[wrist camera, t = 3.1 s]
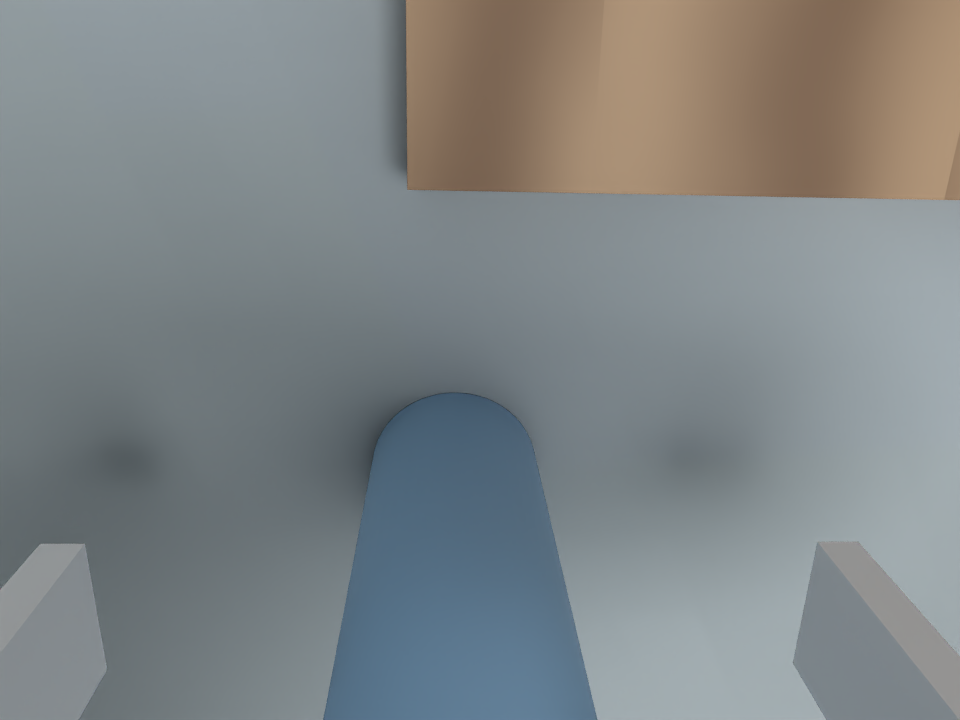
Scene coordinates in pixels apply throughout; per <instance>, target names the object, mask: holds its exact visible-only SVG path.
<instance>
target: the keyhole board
mask: <svg viewBox="0 0 960 720" xmlns="http://www.w3.org/2000/svg"><path fill="white" fill-rule="evenodd" d="M406 70H407V190H448V191H502V192H555V193H608V194H662V195H715V196H768V197H822V198H875V199H928V200H960V0H406Z"/></svg>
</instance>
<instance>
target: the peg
mask: <svg viewBox="0 0 960 720" xmlns="http://www.w3.org/2000/svg"><path fill="white" fill-rule="evenodd" d="M323 720H597V716H596V712H595V708H594V704H593V699H592V695H591V691H590V687H589V682H588V678H587V674H586V670H585V666H584V661H583V657H582V653H581V649H580V644H579V640H578V636H577V632H576V627H575V623H574V619H573V615H572V610H571V606H570V602H569V598H568V593H567V589H566V585H565V581H564V577H563V572H562V568H561V564H560V560H559V555H558V551H557V547H556V543H555V538H554V534H553V530H552V526H551V521H550V517H549V513H548V509H547V504H546V500H545V496H544V492H543V487H542V483H541V479H540V475H539V471H538V466H537V462H536V458H535V454H534V449H533V446H532V443H531V440H530V438H529V436H528V434H527V432H526V430H525V429H524V427H523V426H522V424H521V423H520V422H519V421H518V420H517V419H516V417H515V416H514V415H512V414H511V413H510V412H509V411H508V410H506V409H505V408H503V407H502V406H500V405H499V404H497V403H495V402H493V401H491V400H489V399H486V398H483V397H480V396H477V395H471V394H466V393H444V394H438V395H433V396H430V397H426V398H423V399H421V400H419V401H416V402H414V403H412V404H411V405H409V406H407V407H406V408H404V409H403V410H402V411H400V412H399V413H398V414H397V415H395V416H394V418H393V419H392V420H391V421H390V422H389V423H388V424H387V426H386V427H385V428H384V430H383V431H382V433H381V435H380V437H379V439H378V441H377V444H376V447H375V451H374V456H373V461H372V466H371V472H370V477H369V482H368V487H367V493H366V498H365V503H364V508H363V514H362V519H361V524H360V529H359V535H358V540H357V545H356V551H355V556H354V561H353V566H352V572H351V577H350V582H349V587H348V593H347V598H346V603H345V608H344V614H343V619H342V624H341V630H340V635H339V640H338V645H337V651H336V656H335V661H334V666H333V672H332V677H331V682H330V687H329V693H328V698H327V703H326V709H325V714H324V719H323Z"/></svg>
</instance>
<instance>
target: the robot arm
mask: <svg viewBox="0 0 960 720" xmlns="http://www.w3.org/2000/svg"><path fill="white" fill-rule="evenodd" d="M793 664H794V666H795V667H796V669H797V671H798V672H799V674H800V676H801V678H802V679H803V681H804V683H805V684H806V686H807V688H808V689H809V691H810V693H811V694H812V696H813V698H814V700H815V701H816V703H817V705H818V706H819V708H820V710H821V711H822V713H823V715H824V716H825V718H826V720H960V656H959V655H958V654H957V653H956V652H955V651H954V649H953V648H952V647H951V646H950V645H949V644H948V643H947V642H946V640H945V639H944V638H943V637H942V636H941V635H940V634H939V633H938V631H937V630H936V629H935V628H934V627H933V626H932V625H931V623H930V622H929V621H928V620H927V619H926V618H925V617H924V616H923V614H922V613H921V612H920V611H919V610H918V609H917V608H916V607H915V605H914V604H913V603H912V602H911V601H910V600H909V599H908V597H907V596H906V595H905V594H904V593H903V592H902V591H901V590H900V588H899V587H898V586H897V585H896V584H895V583H894V582H893V581H892V579H891V578H890V577H889V576H888V575H887V574H886V573H885V572H884V570H883V569H882V568H881V567H880V566H879V565H878V564H877V562H876V561H875V560H874V559H873V558H872V557H871V556H870V555H869V553H868V552H867V551H866V550H865V549H864V548H863V547H862V546H861V544H860V543H859V542H817V546H816V551H815V556H814V561H813V566H812V571H811V576H810V581H809V586H808V591H807V595H806V600H805V605H804V610H803V615H802V620H801V625H800V630H799V635H798V640H797V645H796V650H795V655H794V659H793ZM106 671H107V665H106V659H105V654H104V648H103V642H102V637H101V631H100V625H99V620H98V614H97V609H96V603H95V597H94V592H93V586H92V580H91V575H90V569H89V563H88V558H87V552H86V546H85V544H40V545H39V546H38V547H37V548H36V549H35V550H34V552H33V553H32V554H31V555H30V556H29V557H28V558H27V560H26V561H25V562H24V563H23V564H22V565H21V566H20V568H19V569H18V570H17V571H16V572H15V573H14V575H13V576H12V577H11V578H10V579H9V580H8V581H7V583H6V584H5V585H4V586H3V587H2V588H1V589H0V720H79V718H80V716H81V715H82V713H83V711H84V709H85V708H86V706H87V704H88V702H89V701H90V699H91V697H92V695H93V694H94V692H95V690H96V688H97V687H98V685H99V683H100V681H101V680H102V678H103V676H104V674H105V673H106Z"/></svg>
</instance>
